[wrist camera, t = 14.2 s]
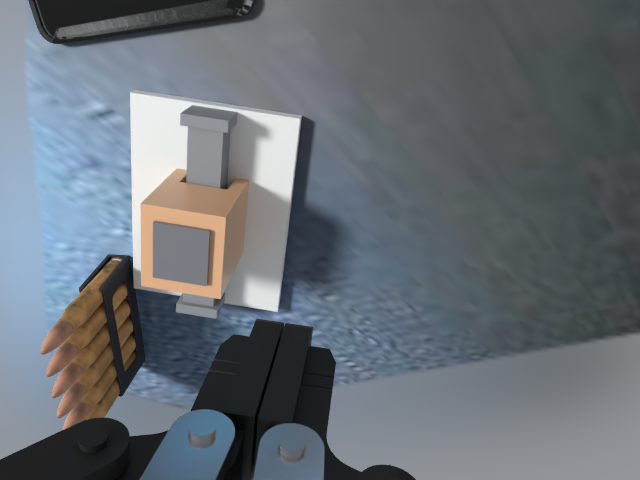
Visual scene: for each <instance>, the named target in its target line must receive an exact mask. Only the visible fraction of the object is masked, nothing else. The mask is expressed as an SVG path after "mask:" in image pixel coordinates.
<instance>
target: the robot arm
mask: <svg viewBox="0 0 640 480" xmlns="http://www.w3.org/2000/svg"><path fill="white" fill-rule="evenodd" d="M312 332H313V327H309V326H302V325H296V324H289V323H286V324H285V327H284V323H282V322H275V321H269V320H262V319H256V321H255V324H254V326H253V329H252V332H251V334H250V337H247V336H241V335H233V336H231V337H230V338H229V339H228V340H226V341H225V342H224V343H223V344H221V345H220V348H219V350H218V352H217V354H216V356H215V359H214V361H213V363H212V365H211V367H210V371H209V372H208V374H207V376H206V378H205V381H204V383H203V385H202V387H201V389H200V392H199V394H198V396H197V398H196V400H195V403H194V405H193V407H192V409H191V411H190V412H188V413H186V414H184V415H182V416H180V417H179V418H178V419H177V420H176V421H175V422H174V423H173V424H172V426H171V427H170V429H169V430H168V431H165V432H162V433H158V434H151V435H140V436H130V437H129V432H128V429H127V428H126V427H125V425H123V424H122V423H121V422H119V421H117V420H114V419H110V418H92V419H88V420H84V421H82V422H79V423H77V424H75V425H73V426H71V427H69V428H66V429H64V430H62V431H60V432H58V433H56V434H54V435H52V436H50V437H48V438H45V439H43V440H41V441H39V442H37V443H35V444H33V445H30V446H28V447H27V448H24V449H22V450H20V451H18V452H15V453H13V454H11V455H9V456H7V457H5V458H3V459H1V460H0V480H416V479H415V478H414V477H412V476H411V475H410V474H409V473H407V472H406V471H404V470H402V469H400V468H397V467H394V466H391V465H375V466H371V467H369V468H367V469H365V470H364V471H363V472H360V471H358V470H356V469H353V468H351V467H349V466H347V465H346V464H344V463H342V462H341V461H340V460H339V459H337V458H336V457H335V456H334V454H333V453H332V452H331V450H330V448H329V446H328V444H327V439H326V433H327V426H328V419H329V411H330V403H331V396H332V388H333V381H334V373H335V365H336V362H335V360H334V358H333V356H332V353H331V351H330V349H326V348H319V347H313V346H311V341H312Z"/></svg>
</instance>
